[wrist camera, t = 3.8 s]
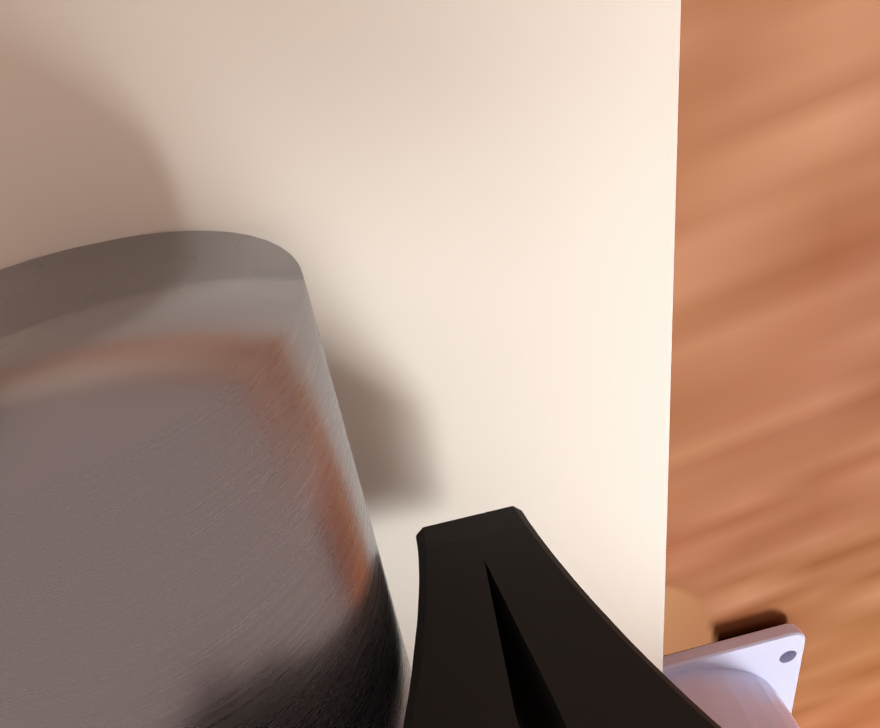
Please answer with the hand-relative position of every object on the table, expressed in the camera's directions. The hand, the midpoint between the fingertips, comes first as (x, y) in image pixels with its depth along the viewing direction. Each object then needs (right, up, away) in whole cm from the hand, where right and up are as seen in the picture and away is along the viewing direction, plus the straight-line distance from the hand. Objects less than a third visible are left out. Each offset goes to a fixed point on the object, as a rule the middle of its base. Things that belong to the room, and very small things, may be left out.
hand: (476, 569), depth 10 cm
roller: (-3, -1, -1) cm, 3 cm away
